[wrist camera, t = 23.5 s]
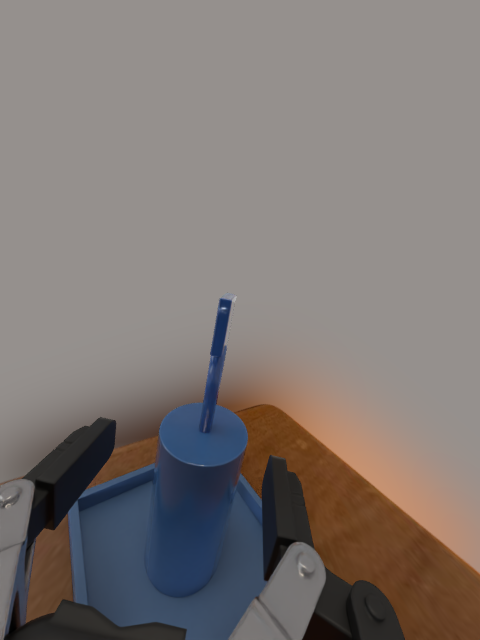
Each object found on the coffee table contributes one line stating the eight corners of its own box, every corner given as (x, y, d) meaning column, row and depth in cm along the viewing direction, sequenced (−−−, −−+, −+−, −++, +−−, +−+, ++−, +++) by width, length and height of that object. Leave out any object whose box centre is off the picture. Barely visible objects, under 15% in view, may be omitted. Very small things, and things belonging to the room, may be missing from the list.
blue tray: (89, 851, 9) (91, 828, 9) (67, 514, 19) (68, 496, 19) (307, 585, 18) (314, 567, 18) (212, 452, 28) (214, 439, 28)
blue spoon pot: (214, 607, 16) (284, 316, 11) (127, 586, 16) (158, 291, 11) (226, 514, 21) (275, 298, 17) (162, 500, 22) (193, 282, 17)
